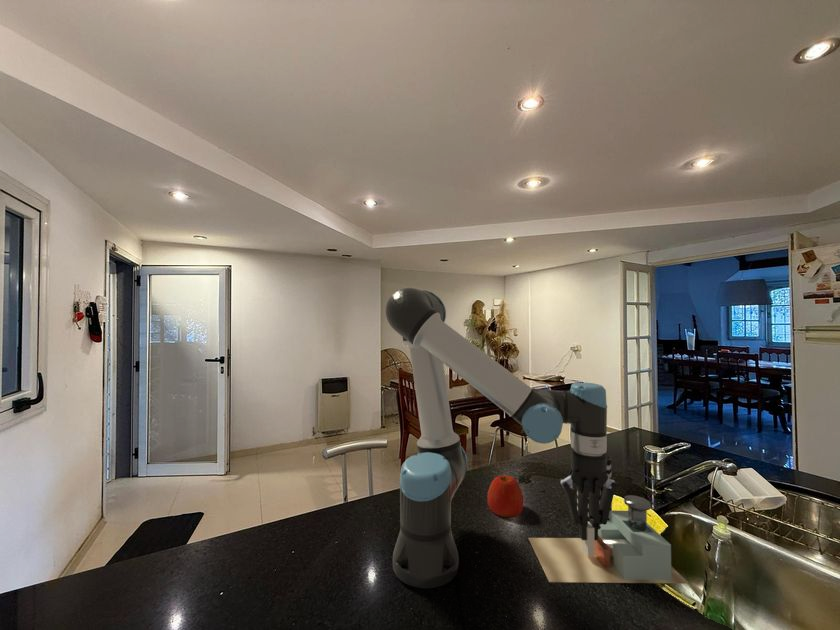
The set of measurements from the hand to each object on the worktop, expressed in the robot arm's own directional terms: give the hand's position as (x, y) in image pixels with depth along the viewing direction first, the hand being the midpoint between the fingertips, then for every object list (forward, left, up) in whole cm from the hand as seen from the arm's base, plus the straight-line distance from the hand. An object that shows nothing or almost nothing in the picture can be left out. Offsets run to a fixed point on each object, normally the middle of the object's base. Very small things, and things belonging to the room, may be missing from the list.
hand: (588, 552), depth 81 cm
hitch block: (+9, 0, -1) cm, 9 cm away
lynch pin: (+9, 0, -1) cm, 9 cm away
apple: (-14, +21, -2) cm, 25 cm away
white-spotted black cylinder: (+7, +12, -2) cm, 14 cm away
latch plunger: (+11, 0, +6) cm, 13 cm away
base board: (+3, 0, -2) cm, 4 cm away
